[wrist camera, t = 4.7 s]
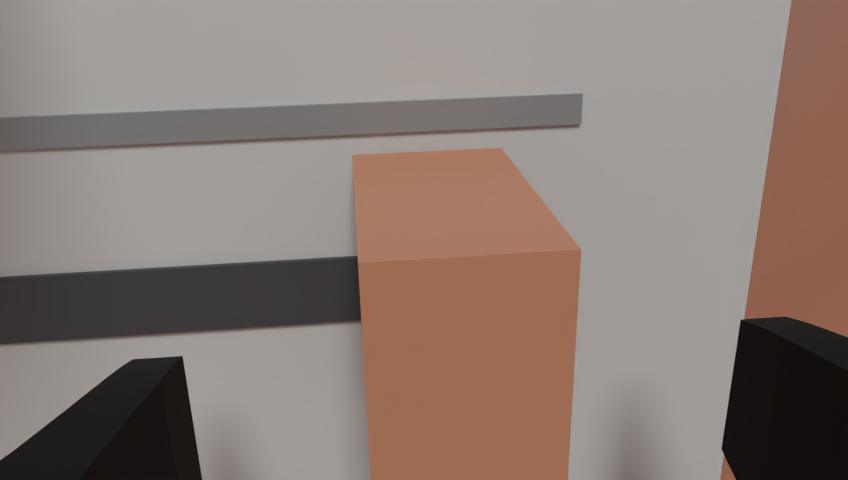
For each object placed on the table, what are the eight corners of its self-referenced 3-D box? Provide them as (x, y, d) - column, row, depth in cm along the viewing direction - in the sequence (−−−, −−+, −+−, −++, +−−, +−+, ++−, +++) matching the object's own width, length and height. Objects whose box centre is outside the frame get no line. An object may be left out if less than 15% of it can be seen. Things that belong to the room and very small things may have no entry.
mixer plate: (764, -155, 13) (820, -168, 11) (650, 743, 21) (674, 804, 19) (-255, -142, 11) (-344, -155, 10) (45, 815, 19) (20, 887, 18)
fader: (500, 147, 12) (581, 249, 8) (496, 410, 14) (560, 600, 10) (352, 154, 12) (358, 262, 8) (367, 420, 14) (378, 619, 10)
